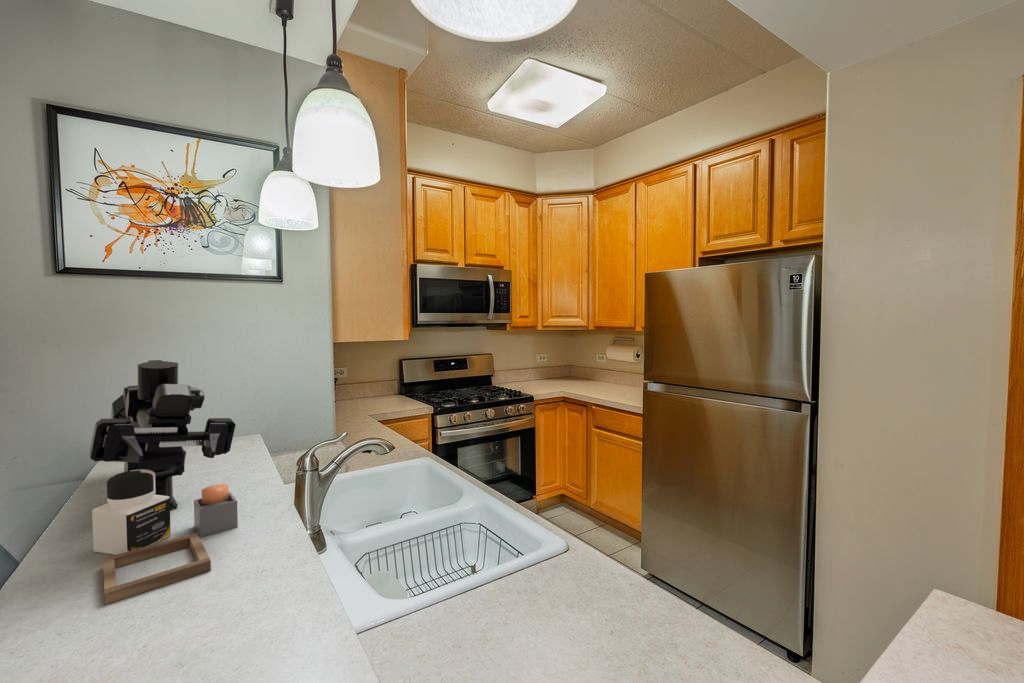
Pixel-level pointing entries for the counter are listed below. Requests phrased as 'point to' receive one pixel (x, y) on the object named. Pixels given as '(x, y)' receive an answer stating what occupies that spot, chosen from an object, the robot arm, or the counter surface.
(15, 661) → the counter surface
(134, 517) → the medicine bottle
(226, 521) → the button housing
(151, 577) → the frame
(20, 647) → the counter surface
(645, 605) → the counter surface
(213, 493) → the button
